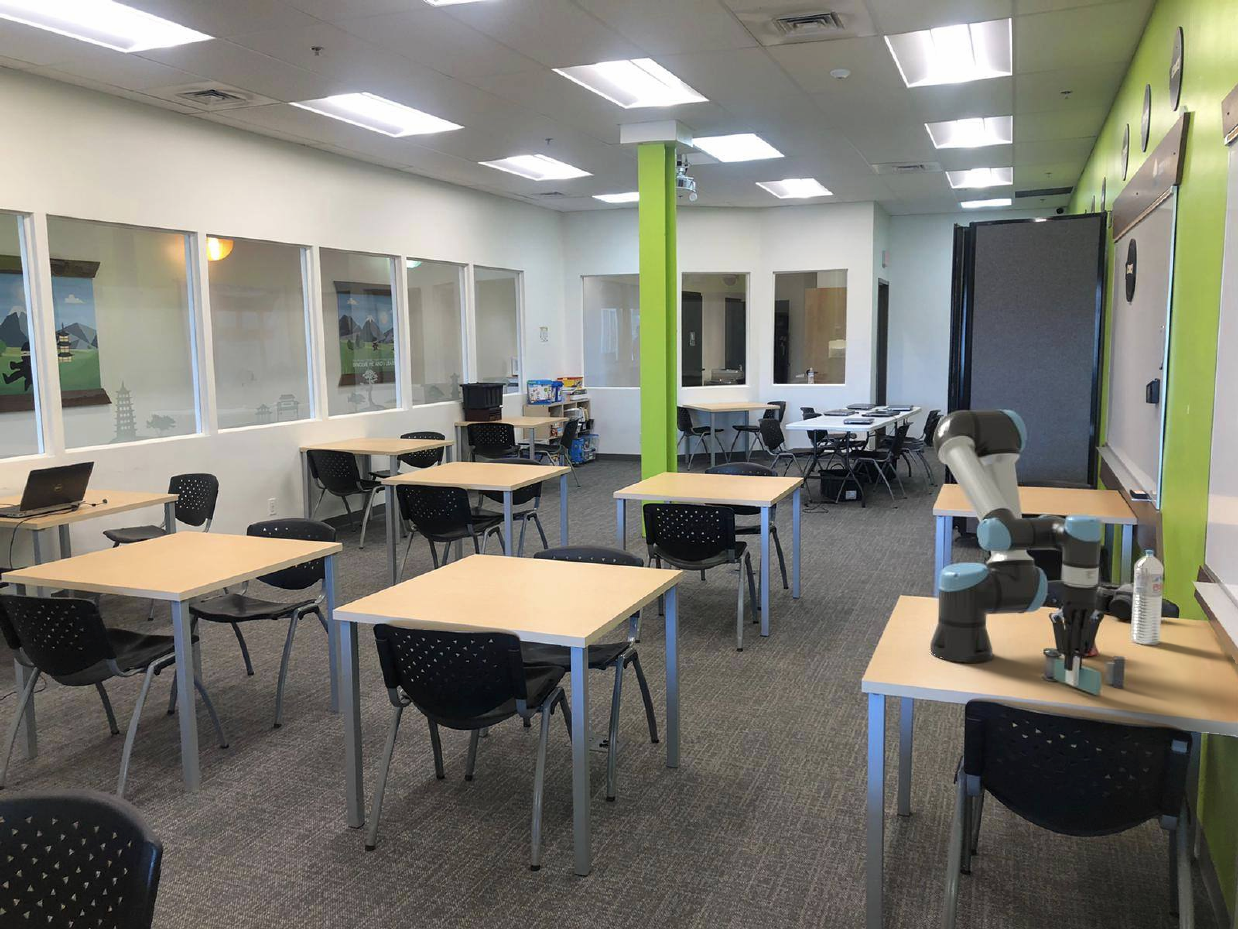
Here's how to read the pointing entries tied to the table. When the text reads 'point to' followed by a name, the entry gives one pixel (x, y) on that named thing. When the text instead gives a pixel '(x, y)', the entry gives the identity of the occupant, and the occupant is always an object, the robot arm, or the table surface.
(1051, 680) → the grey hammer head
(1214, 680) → the table surface
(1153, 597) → the water bottle
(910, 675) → the table surface
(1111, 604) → the camera
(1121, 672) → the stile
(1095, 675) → the teal rectangular bar
